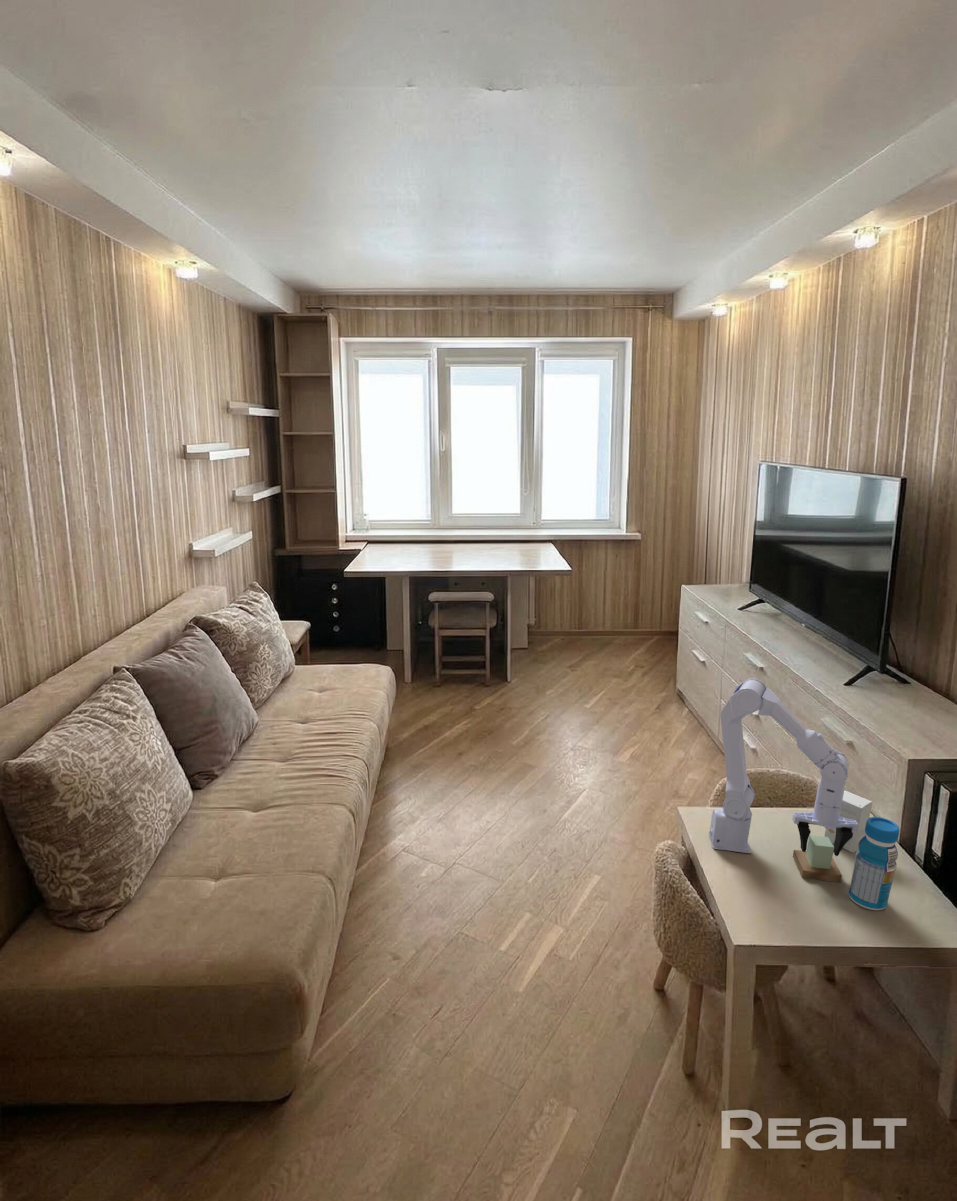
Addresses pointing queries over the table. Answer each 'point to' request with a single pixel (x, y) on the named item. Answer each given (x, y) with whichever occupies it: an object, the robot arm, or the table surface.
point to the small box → (853, 818)
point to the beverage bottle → (875, 864)
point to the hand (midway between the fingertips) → (819, 851)
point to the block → (819, 852)
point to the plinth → (816, 869)
